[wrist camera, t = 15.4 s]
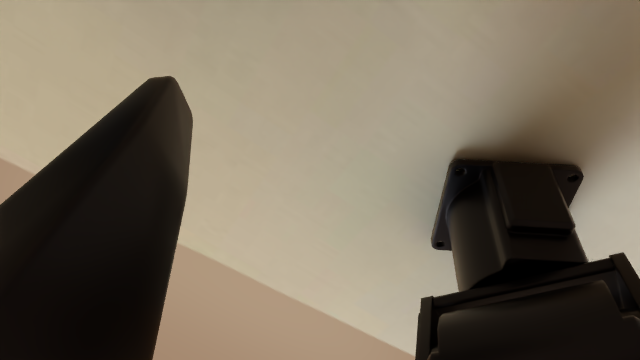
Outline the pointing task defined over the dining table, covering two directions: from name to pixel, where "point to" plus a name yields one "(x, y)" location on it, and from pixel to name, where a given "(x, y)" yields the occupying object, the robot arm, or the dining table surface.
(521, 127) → the dining table surface
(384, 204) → the dining table surface
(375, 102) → the dining table surface
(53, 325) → the robot arm
